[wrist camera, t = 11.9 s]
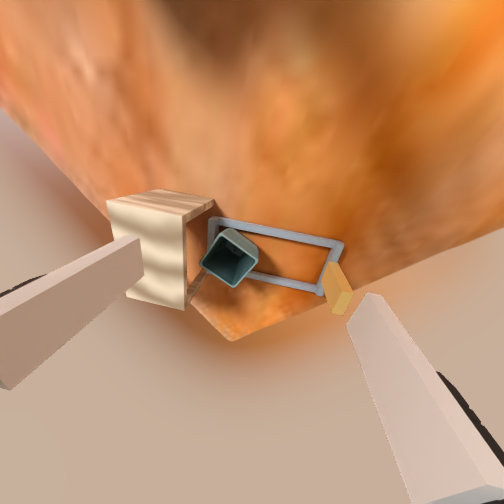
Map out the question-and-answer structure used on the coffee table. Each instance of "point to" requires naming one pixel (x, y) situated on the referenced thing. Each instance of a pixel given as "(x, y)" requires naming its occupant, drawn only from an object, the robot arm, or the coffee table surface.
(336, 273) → the frame with square tube
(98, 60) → the coffee table surface
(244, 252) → the flower pot
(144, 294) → the shelf
